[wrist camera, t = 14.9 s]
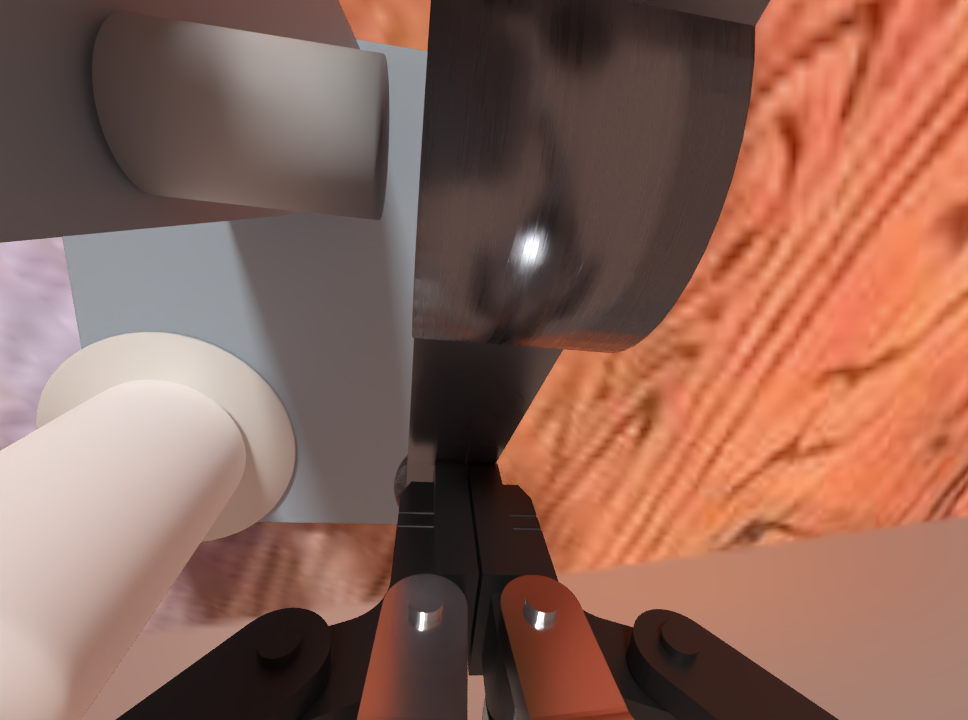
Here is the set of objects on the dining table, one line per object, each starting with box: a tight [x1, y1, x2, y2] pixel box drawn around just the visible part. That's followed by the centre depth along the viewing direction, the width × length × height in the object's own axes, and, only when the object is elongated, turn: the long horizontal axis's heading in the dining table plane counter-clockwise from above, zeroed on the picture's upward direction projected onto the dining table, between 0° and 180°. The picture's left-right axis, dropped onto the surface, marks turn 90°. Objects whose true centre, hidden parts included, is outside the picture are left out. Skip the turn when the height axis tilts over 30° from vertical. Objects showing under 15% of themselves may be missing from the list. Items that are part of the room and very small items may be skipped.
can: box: [0, 380, 246, 720], centre depth 14 cm, size 6×6×12 cm
